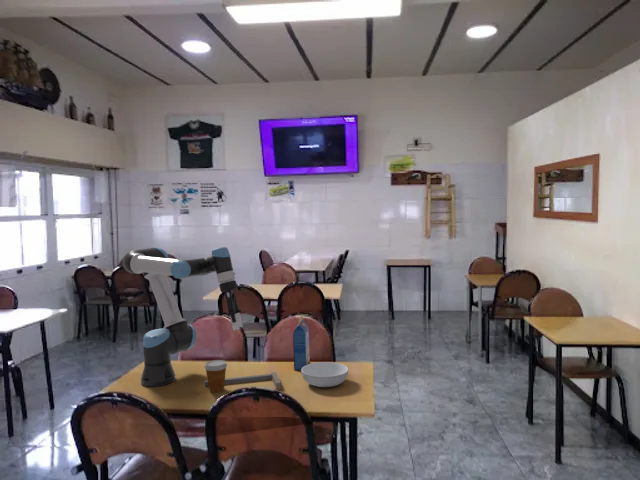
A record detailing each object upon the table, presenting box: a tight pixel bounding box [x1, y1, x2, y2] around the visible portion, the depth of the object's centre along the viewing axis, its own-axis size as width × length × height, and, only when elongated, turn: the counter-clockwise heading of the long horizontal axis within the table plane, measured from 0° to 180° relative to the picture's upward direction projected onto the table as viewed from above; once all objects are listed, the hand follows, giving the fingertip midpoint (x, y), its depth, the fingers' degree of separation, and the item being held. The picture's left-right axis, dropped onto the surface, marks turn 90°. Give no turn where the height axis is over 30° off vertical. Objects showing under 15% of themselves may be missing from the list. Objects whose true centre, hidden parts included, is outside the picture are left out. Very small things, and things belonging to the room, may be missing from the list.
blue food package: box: [292, 314, 311, 371], centre depth 240 cm, size 6×12×25 cm, turn 173°
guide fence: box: [204, 371, 282, 391], centre depth 214 cm, size 32×16×3 cm, turn 103°
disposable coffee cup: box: [204, 359, 228, 394], centre depth 211 cm, size 10×10×12 cm
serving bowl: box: [300, 361, 349, 388], centre depth 215 cm, size 21×21×7 cm
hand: (238, 328), depth 214 cm, fingers open, 13 cm apart
